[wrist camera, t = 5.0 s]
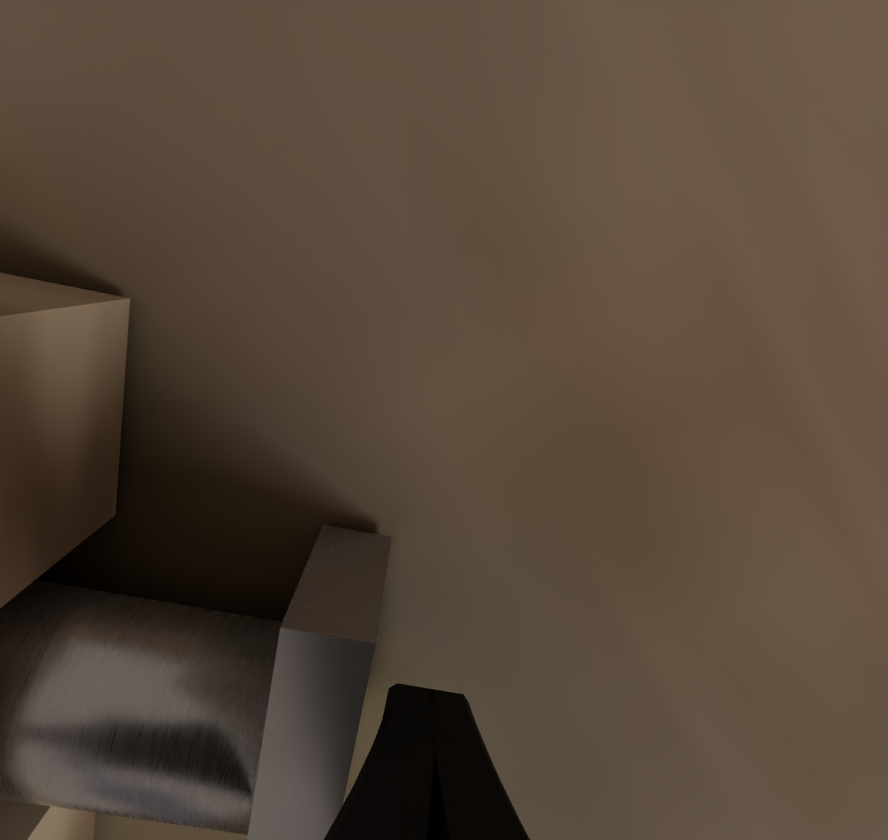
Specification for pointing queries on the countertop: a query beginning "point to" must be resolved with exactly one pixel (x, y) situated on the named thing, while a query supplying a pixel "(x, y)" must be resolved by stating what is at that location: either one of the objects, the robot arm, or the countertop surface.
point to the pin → (193, 699)
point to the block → (55, 456)
